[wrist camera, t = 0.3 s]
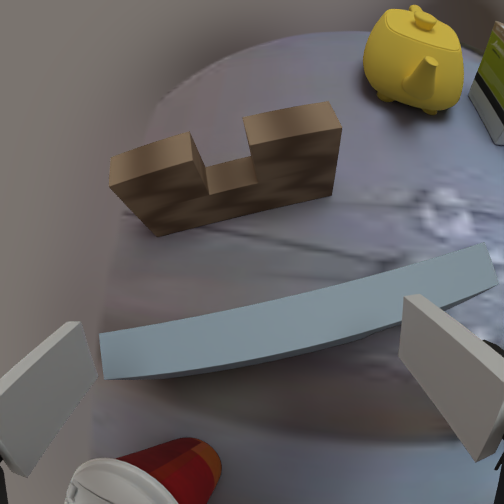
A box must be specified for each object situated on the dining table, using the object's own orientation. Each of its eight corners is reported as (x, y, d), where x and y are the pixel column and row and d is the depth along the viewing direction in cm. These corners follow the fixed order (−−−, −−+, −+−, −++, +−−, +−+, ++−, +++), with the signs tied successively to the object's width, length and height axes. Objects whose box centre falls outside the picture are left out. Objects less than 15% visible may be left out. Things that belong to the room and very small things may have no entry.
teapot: (352, 129, 33) (365, 41, 22) (364, 45, 39) (370, -21, 28) (457, 160, 30) (499, 86, 19) (444, 67, 36) (462, 6, 25)
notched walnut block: (322, 171, 32) (328, 101, 22) (331, 195, 31) (342, 127, 21) (155, 212, 33) (110, 157, 23) (157, 237, 32) (108, 186, 22)
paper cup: (141, 472, 23) (47, 518, 10) (171, 411, 25) (75, 434, 12) (214, 512, 21) (156, 594, 8) (250, 451, 23) (207, 520, 10)
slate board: (432, 282, 26) (484, 242, 17) (441, 312, 25) (499, 283, 16) (159, 347, 28) (99, 333, 18) (164, 378, 26) (104, 379, 17)
